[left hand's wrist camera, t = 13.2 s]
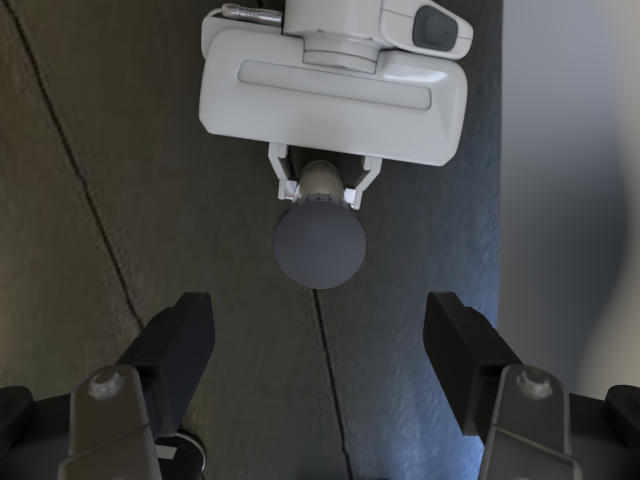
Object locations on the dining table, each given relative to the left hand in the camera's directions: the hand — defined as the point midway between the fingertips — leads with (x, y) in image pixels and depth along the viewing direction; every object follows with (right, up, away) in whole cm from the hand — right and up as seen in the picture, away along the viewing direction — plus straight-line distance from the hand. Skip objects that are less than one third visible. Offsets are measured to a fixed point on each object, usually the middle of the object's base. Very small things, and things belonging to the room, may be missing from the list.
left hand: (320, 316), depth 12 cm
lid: (0, +2, +6) cm, 7 cm away
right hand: (0, +6, +18) cm, 19 cm away
